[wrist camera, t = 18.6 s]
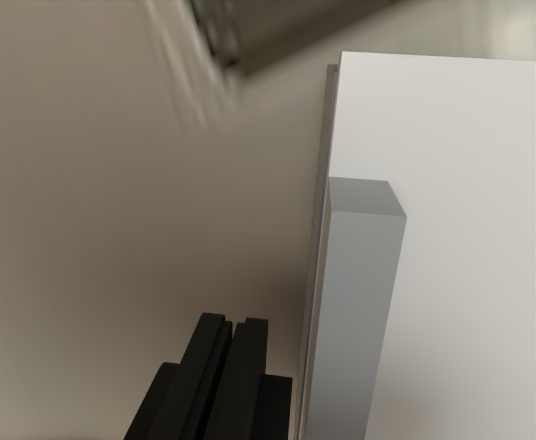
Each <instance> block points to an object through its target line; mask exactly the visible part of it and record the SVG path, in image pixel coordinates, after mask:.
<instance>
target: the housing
mask: <svg viewBox="0 0 536 440" xmlns="http://www.w3.org/2000/svg"><path fill="white" fill-rule="evenodd" d="M338 66H339V65H332V64H328V70H327V81H326V91H325V101H324V111H323V122H322V132H321V142H320V152H319V163H318V173H317V183H316V193H315V204H314V214H313V224H312V234H311V245H310V255H309V265H308V275H307V286H306V296H305V306H304V316H303V327H302V337H301V347H300V357H299V368H298V379H297V395H296V412H295V428H294V440H299V431H300V422H301V412H302V403H303V394H304V384H305V375H306V366H307V356H308V347H309V337H310V328H311V319H312V309H313V300H314V291H315V281H316V272H317V263H318V253H319V244H320V234H321V225H322V216H323V206H324V197H325V188H326V178H327V169H328V160H329V150H330V141H331V131H332V122H333V113H334V103H335V94H336V85H337V75H338Z"/></svg>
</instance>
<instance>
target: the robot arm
mask: <svg viewBox="0 0 536 440" xmlns="http://www.w3.org/2000/svg"><path fill="white" fill-rule="evenodd" d="M232 327H233V326H232V321H225V315H221V314H212V313H202V315H201V317H200V320H199V322H198V324H197V326H196V329H195V331H194V333H193V335H192V338H191V340H190V342H189V344H188V346H187V349H186V351H185V353H184V355H183V358H182V360H181V362H180V364H177V363H168V362H164V363H163V364H162V365H161V366H160V368H159V370H158V372H157V374H156V376H155V378H154V380H153V382H152V384H151V386H150V388H149V390H148V392H147V394H146V396H145V398H144V400H143V402H142V403H141V405H140V407H139V409H138V411H137V413H136V415H135V417H134V419H133V421H132V423H131V425H130V427H129V429H128V431H127V433H126V435H125V437H124V439H123V440H288V431H289V418H290V405H291V393H292V379H293V378H291V377H283V376H275V375H267V374H265V368H266V352H267V335H268V320H266V319H257V318H248V317H247V318H246V321H245V323H240V322H238V323H237V326H236V329H235V333H234V336H233V339H232Z"/></svg>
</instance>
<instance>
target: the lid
mask: <svg viewBox="0 0 536 440" xmlns="http://www.w3.org/2000/svg"><path fill="white" fill-rule="evenodd" d="M299 440H536V61H519V60H499V59H480V58H460V57H441V56H421V55H402V54H383V53H363V52H344V51H341V52H340V57H339V66H338V75H337V85H336V94H335V103H334V113H333V122H332V131H331V141H330V150H329V160H328V169H327V178H326V188H325V197H324V206H323V216H322V225H321V234H320V244H319V253H318V263H317V272H316V281H315V291H314V300H313V309H312V319H311V328H310V337H309V347H308V356H307V366H306V375H305V384H304V394H303V403H302V412H301V422H300V431H299Z"/></svg>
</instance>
